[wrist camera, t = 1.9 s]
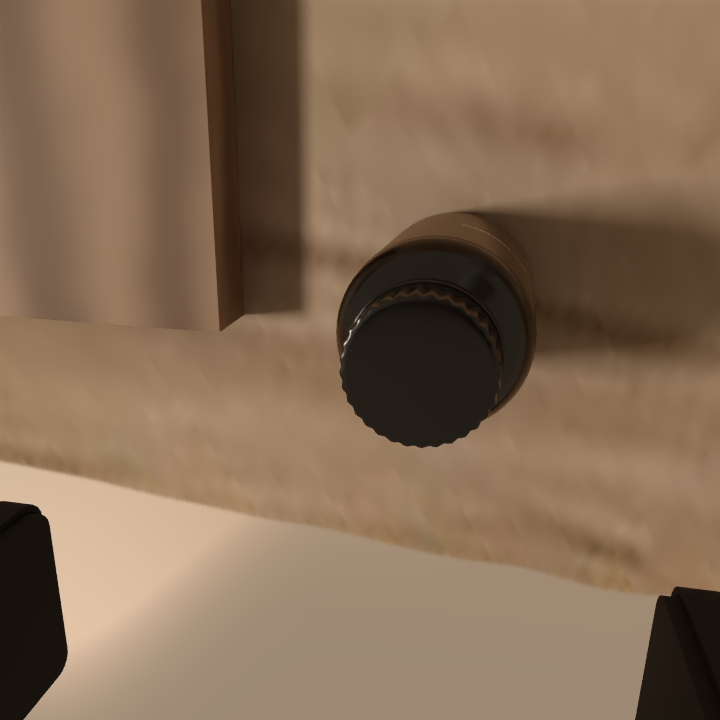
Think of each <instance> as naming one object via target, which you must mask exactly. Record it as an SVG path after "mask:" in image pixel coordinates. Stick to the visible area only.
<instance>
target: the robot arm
mask: <svg viewBox="0 0 720 720" xmlns="http://www.w3.org/2000/svg"><path fill="white" fill-rule="evenodd" d="M67 654H68V650H67V642H66V636H65V628H64V621H63V615H62V608H61V601H60V594H59V587H58V580H57V574H56V566H55V560H54V553H53V546H52V539H51V532H50V525H49V522H48V519H47V518H46V517H45V516H43V515H42V514H41V511H40V510H39V508H38V507H37V506H34V505H31V504H22V503H14V502H7V501H0V720H23V719H24V718H25V717H26V716H27V715H28V713H29V712H30V711H31V710H32V708H33V707H34V706H35V705H36V704H37V702H38V701H39V700H40V698H41V697H42V696H43V695H44V694H45V693H46V691H47V690H48V689H49V688H50V686H51V685H52V684H53V683H54V681H55V680H56V679H57V678H58V677H59V675H60V674H61V672H62V671H63V668H64V666H65V663H66V660H67ZM635 720H720V592H717V591H709V590H701V589H693V588H685V587H675V588H674V590H673V592H672V595H671V597H670V596H662V595H661V596H659V597H658V599H657V603H656V608H655V614H654V619H653V624H652V630H651V636H650V641H649V647H648V652H647V658H646V664H645V669H644V674H643V680H642V685H641V691H640V696H639V702H638V707H637V713H636V718H635Z"/></svg>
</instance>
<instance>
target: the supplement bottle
mask: <svg viewBox="0 0 720 720" xmlns="http://www.w3.org/2000/svg"><path fill="white" fill-rule="evenodd" d="M336 334H337V346H338V352H339V356H340V362H341V369H340V372H339V373H340V376H341V378H342V380H343V382H342V388H343V390H344V391H345V392H346V394H347V402H348V403H349V404H350V405H352V406H353V408H354V412H355V414H356V415H357V416H359V417H360V418H362V420H363V422H364V423H365V425H366V426H368V427H370V428H373V429H374V431H375V432H376V433H377V434H378V435H381V436H385V437H386V438H387V439H389V440H390V441H391V442H400V443H401V444H403V445H405V446H413V445H414V446H417V447H420V448H423V447H427V446H433V447H438V446H440V445H442V444H443V443H447V444H449V443H453V442H454V441H455V440H456V439H458V438H463V437H466V436H467V435H468V433H469V432H470V431H471V430H475V429H477V428H478V427H479V425H480V422H481V421H483V420H485V419H487V418H489V417H491V416H492V415H494V414H495V413H497V412H498V411H499V410H500V409H502V408H503V407H504V406H505V405H506V404H507V403H508V402H509V401H510V400H511V399H512V398H513V397H514V396H515V394H516V393H517V392H518V391H519V389H520V388H521V386H522V385H523V383H524V381H525V379H526V377H527V375H528V373H529V370H530V368H531V365H532V361H533V358H534V352H535V346H536V318H535V306H534V294H533V284H532V277H531V272H530V268H529V265H528V262H527V260H526V258H525V256H524V254H523V252H522V250H521V249H520V247H519V245H518V244H517V243H516V242H515V240H514V239H513V238H512V237H511V236H510V235H509V234H508V233H507V232H506V231H505V230H504V229H502V228H501V227H499V226H498V225H497V224H495V223H493V222H491V221H489V220H487V219H485V218H482V217H479V216H476V215H472V214H467V213H443V214H438V215H434V216H431V217H427V218H425V219H423V220H420V221H418V222H417V223H415V224H413V225H412V226H410V227H409V228H407V229H406V230H404V231H403V232H402V233H401V234H400V235H398V236H397V237H396V238H395V239H394V240H392V241H391V242H390V243H389V244H388V245H387V246H385V247H384V248H383V249H382V250H381V251H379V252H378V253H377V254H376V255H375V256H374V257H372V258H371V259H370V260H369V261H368V262H367V263H366V264H365V265H364V266H363V267H362V268H361V269H360V271H359V272H358V273H357V274H356V276H355V277H354V278H353V280H352V281H351V283H350V285H349V286H348V288H347V290H346V292H345V294H344V296H343V299H342V302H341V305H340V308H339V312H338V318H337V329H336Z"/></svg>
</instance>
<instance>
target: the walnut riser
mask: <svg viewBox="0 0 720 720" xmlns="http://www.w3.org/2000/svg"><path fill="white" fill-rule="evenodd" d="M243 315H244V313H243V290H242V266H241V243H240V220H239V197H238V174H237V151H236V128H235V105H234V82H233V59H232V35H231V12H230V0H0V316H10V317H23V318H36V319H50V320H63V321H77V322H90V323H103V324H117V325H130V326H144V327H157V328H171V329H184V330H197V331H211V332H220V331H222V330H223V329H225V328H226V327H227V326H229V325H230V324H232V323H233V322H234V321H236V320H237V319H239V318H240V317H241V316H243Z"/></svg>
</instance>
